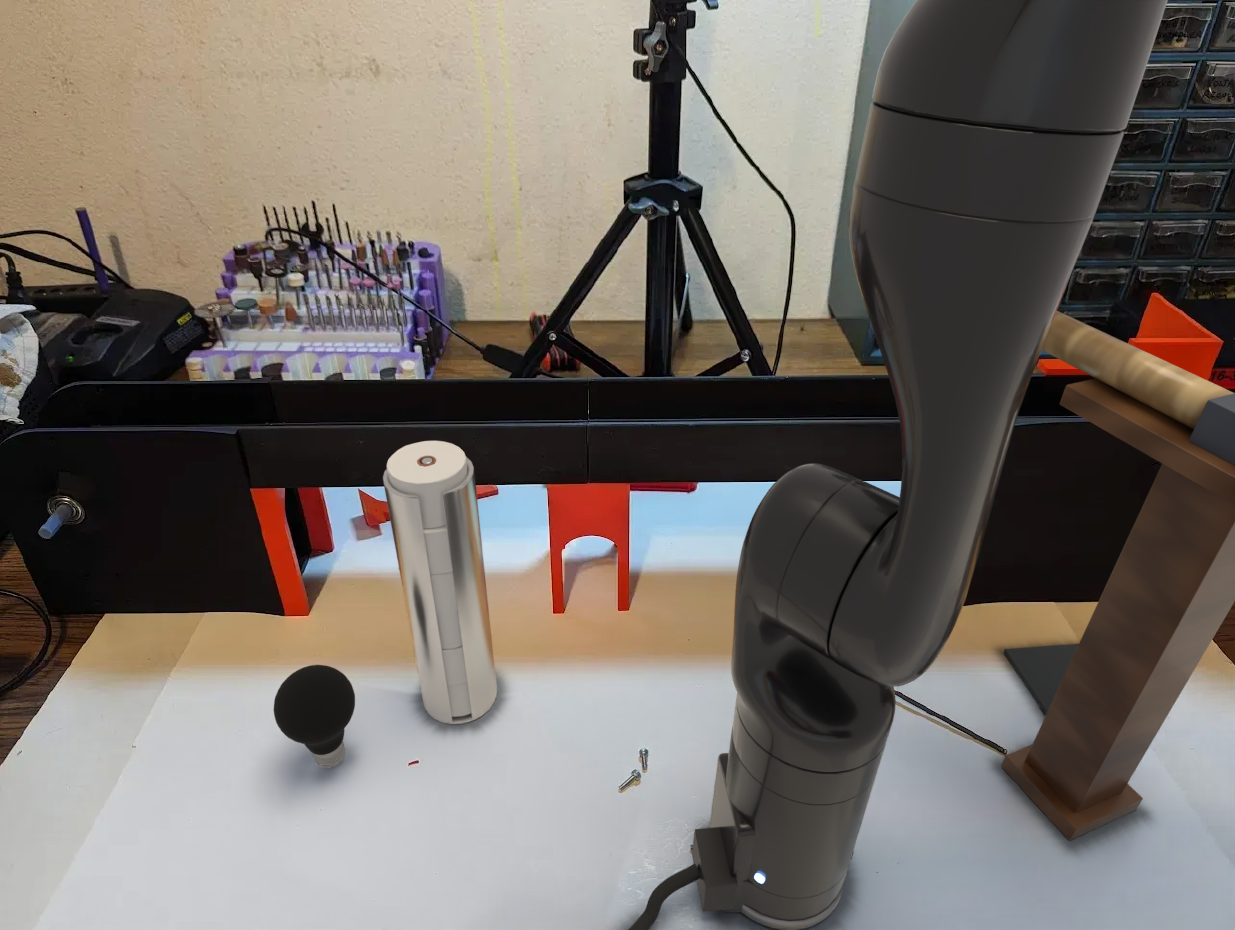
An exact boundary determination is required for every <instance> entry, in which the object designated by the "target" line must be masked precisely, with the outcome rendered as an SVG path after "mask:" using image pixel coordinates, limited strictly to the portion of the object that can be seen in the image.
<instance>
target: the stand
mask: <svg viewBox="0 0 1235 930" xmlns="http://www.w3.org/2000/svg"><path fill="white" fill-rule="evenodd" d="M1059 405H1060V406H1062V407H1063V408H1065V409H1067V410H1069V411H1070V412H1072V413H1074V414H1076V415H1077V416H1079V417H1081V418H1082V419H1083V420H1086V421H1088V422H1089V423H1091V424H1093V425H1095V426H1096V427H1098V428H1100V429H1101V430H1103V431H1105V432H1106V433H1109V434H1110V435H1112V436H1113V437H1116V438H1117V439H1119V440H1120V441H1122V442H1124V443H1126V444H1127V445H1129V446H1131V447H1133V448H1135V449H1136V450H1138V451H1140V452H1142V453H1143V454H1145V455H1147V456H1148V457H1150V458H1152V459H1153V460H1155V461H1157V462H1158V463H1161V466H1160V467H1159V469H1158V471H1157V474H1156V476H1155V479H1154V480H1153V483H1152V485H1151V487H1150V489H1149V491H1148V494H1147V496H1146V498H1145V500H1144V501H1143V504H1142V506H1141V509H1140V510H1139V513H1138V515H1137V517H1136V520H1135V521H1134V524H1133V526H1132V528H1131V530H1130V532H1129V535H1128V536H1127V538H1126V541H1125V543H1124V545H1123V548H1122V550H1121V552H1120V554H1119V556H1118V558H1117V560H1116V563H1115V565H1114V567H1113V570H1112V572H1111V573H1110V576H1109V578H1108V580H1107V582H1106V584H1105V587H1104V589H1103V591H1102V592H1101V596H1100V597H1099V599H1098V602H1097V603H1096V606H1095V608H1094V611H1093V613H1092V614H1091V617H1090V619H1089V621H1088V623H1087V626H1086V628H1085V629H1084V632H1083V634H1082V636H1081V639H1080V641H1079V643H1078V644H1079V645H1078V647H1077V649H1076V651H1075V654H1074V656H1073V658H1072V660H1071V662H1070V664H1069V666H1068V669H1067V671H1066V673H1065V675H1064V677H1063V679H1062V682H1061V684H1060V686H1059V688H1058V690H1057V692H1056V695H1055V697H1054V699H1053V701H1052V703H1051V705H1050V708H1049V710H1048V712H1047V714H1046V715H1045V716H1044V718H1043V721H1042V723H1041V725H1040V727H1039V730H1038V732H1037V733H1036V736H1035V738H1034V740H1033V742H1032V744H1030V745H1027V746H1025V747H1022V748H1020V749H1017V750H1014V751H1013V752H1009V753H1008V754H1005V756H1004V758H1003V761H1002V763H1001V765H1000V767H1001V768H1002V769H1003V770H1004V772H1005V773H1006V774H1007V775H1008V776H1009V777H1010V778H1011V779H1012V780H1013V781H1014V782H1015V784H1016V785H1017V786H1018V787H1019V788H1020V789H1021V790H1022V791H1023V792H1024V793H1025V794H1026V796H1028V798H1029V799H1030V800H1031V801H1032V802H1033V803H1034V804H1035V805H1036V806H1037V807H1038V809H1040V810H1041V812H1042V813H1043V814H1044V815H1045V816H1046V817H1047V818H1048V819H1049V821H1051V823H1052V824H1053V825H1054V826H1055V827H1056V828H1057V829H1058V830H1059V831H1060V833H1062V834H1063V836H1064V837H1065V838H1066V839H1067V840H1068V841H1072V840H1075V839H1076V838H1078V837H1081V836H1083V835H1085V834H1088V833H1090V832H1092V831H1093V830H1095V829H1098V828H1100V827H1102V826H1104V825H1106V824H1109V823H1112V822H1113V821H1115V820H1117V819H1119V818H1121V817H1124V816H1127V815H1128V814H1130V813H1132V812H1135V811H1136V810H1138V808H1139V806H1140V805H1141V803H1142V801H1143V799H1144V797H1142V796H1141V794H1139V793H1138V792H1137V791H1136V790H1135V789H1134V788H1133V787H1132V786H1131V785H1130V784H1128V783H1129V782H1130V780H1131V779H1132V777H1133V775H1134V773H1135V772H1136V770H1137V768H1138V767H1139V765H1140V763H1141V761H1142V760H1143V758H1144V757H1145V755H1146V753H1147V751H1148V749H1149V748H1150V746H1151V744H1152V743H1153V741H1154V740H1155V738H1156V737H1157V734H1158V733H1159V731H1160V729H1161V728H1162V725H1163V724H1164V723H1165V721H1166V720H1167V718H1168V716H1169V714H1170V713H1171V710H1172V709H1173V707H1174V705H1175V703H1176V702H1177V700H1178V699H1179V697H1180V695H1181V694H1182V692H1183V690H1184V688H1185V687H1186V685H1187V684H1188V681H1189V680H1190V678H1191V677H1192V675H1193V673H1194V672H1195V670H1196V668H1197V667H1198V665H1199V663H1200V662H1201V659H1202V658H1203V656H1204V655H1205V653H1206V651H1207V649H1208V648H1209V646H1210V644H1211V642H1212V641H1213V639H1214V638H1215V635H1216V634H1217V632H1218V631H1219V629H1220V627H1221V625H1222V624H1223V622H1224V621H1225V619H1226V617H1227V615H1228V614H1229V612H1230V610H1231V608H1232V607H1233V605H1234V603H1235V465H1233V464H1231V463H1229V462H1227V461H1225V460H1224V459H1222V458H1220V457H1218V456H1216V455H1214V454H1212V453H1211V452H1209V451H1207V450H1205V449H1203V448H1201V447H1199V446H1197V445H1196V444H1194V443H1192V442H1190V441H1189V439H1190V437H1191V435H1192V433H1193V431H1194V429H1192V428H1190V427H1188V426H1186V425H1184V424H1183V423H1181V422H1179V421H1177V420H1175V419H1173V418H1171V417H1169V416H1167V415H1165V414H1163V413H1161V412H1160V411H1158V410H1156V409H1154V408H1152V407H1150V406H1148V405H1146V404H1144V403H1142V402H1140V401H1138V400H1137V399H1135V398H1133V397H1131V396H1129V395H1127V394H1125V393H1123V392H1121V391H1119V390H1117V389H1115V388H1114V387H1112V386H1110V385H1108V384H1106V383H1104V382H1102V381H1100V380H1098V379H1096V378H1091V379H1087V380H1083V381H1078V382H1074V383H1069V384H1066V385H1065V387H1064V390H1063V392H1062V396H1061V399H1060V401H1059Z"/></svg>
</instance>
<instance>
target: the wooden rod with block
mask: <svg viewBox="0 0 1235 930" xmlns="http://www.w3.org/2000/svg"><path fill="white" fill-rule="evenodd" d="M1041 351H1043V352H1045V353H1046V354H1048V355H1050V356H1052V357H1054V358H1056V359H1058V360H1060V361H1062V362H1064V363H1065V364H1067V365H1070V366H1072V367H1073V368H1075V369H1077V370H1079V371H1081V372H1083V373H1085V374H1087V375H1089V376H1091V377H1092V378H1093V379H1095V378H1096V379H1098V380H1100V381H1102V382H1104V383H1106V384H1108V385H1110V386H1112V387H1114V388H1115V389H1117V390H1119V391H1121V392H1123V393H1125V394H1127V395H1129V396H1131V397H1133V398H1135V399H1137V400H1138V401H1140V402H1142V403H1144V404H1146V405H1148V406H1150V407H1152V408H1154V409H1156V410H1158V411H1160V412H1161V413H1163V414H1165V415H1167V416H1169V417H1171V418H1173V419H1175V420H1177V421H1179V422H1181V423H1183V424H1184V425H1186V426H1188V427H1190V428H1192V429H1194V431H1193V433H1192V435H1191V437H1190V439H1189V441H1190V442H1192V443H1194V444H1196V445H1197V446H1199V447H1201V448H1203V449H1205V450H1207V451H1209V452H1211V453H1212V454H1214V455H1216V456H1218V457H1220V458H1222V459H1224V460H1225V461H1227V462H1229V463H1231V464H1233V465H1235V392H1234V391H1230V390H1228V389H1226V388H1225V387H1222V386H1220V385H1218V384H1215V383H1213V382H1211V381H1209V380H1207V379H1205V378H1203V377H1200V376H1199V375H1197V374H1194V373H1192V372H1190V371H1187V370H1185V369H1184V368H1181V367H1179V366H1177V365H1175V364H1172V363H1171V362H1168V361H1166V360H1165V359H1162V358H1160V357H1158V356H1155V355H1153V354H1151V353H1150V352H1146V351H1145V350H1143V349H1141V348H1138V347H1136V346H1134V345H1132V344H1130V343H1128V342H1125V341H1123V340H1121V339H1119V338H1117V337H1115V336H1112V335H1110V334H1108V333H1106V332H1104V331H1102V330H1099V329H1098V328H1095V327H1093V326H1091V325H1089V324H1087V323H1085V322H1082V321H1080V320H1078V319H1076V318H1074V317H1072V316H1069V315H1067V314H1066V313H1063V312H1061V311H1059V310H1057V311H1056V313H1055V316H1054V319H1053V321H1052V324H1051V327H1050V329H1049V332H1048V334H1047V337H1046V340H1045V342H1044V345H1043V348H1042V350H1041Z"/></svg>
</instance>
